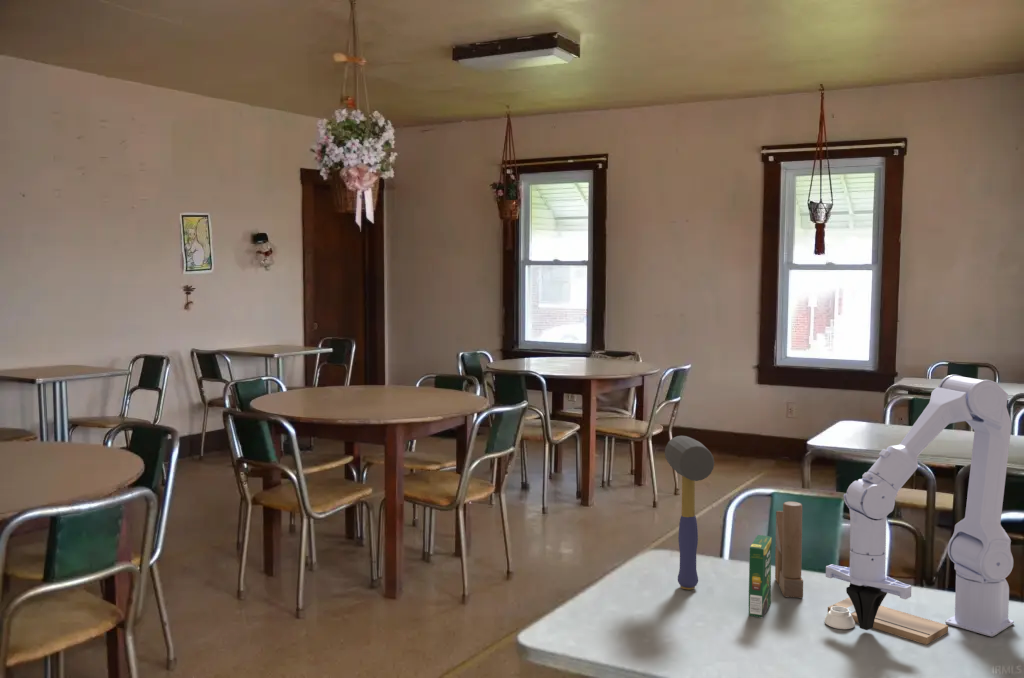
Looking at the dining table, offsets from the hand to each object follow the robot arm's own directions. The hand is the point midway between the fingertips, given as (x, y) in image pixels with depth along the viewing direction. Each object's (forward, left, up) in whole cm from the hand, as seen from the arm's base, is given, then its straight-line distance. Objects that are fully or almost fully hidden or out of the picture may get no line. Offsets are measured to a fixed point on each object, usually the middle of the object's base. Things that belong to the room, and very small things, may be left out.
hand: (866, 627), depth 150 cm
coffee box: (+5, -18, -1) cm, 19 cm away
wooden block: (-9, -21, -1) cm, 23 cm away
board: (-7, 0, -1) cm, 7 cm away
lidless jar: (0, -5, -1) cm, 5 cm away
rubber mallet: (+6, -34, -1) cm, 34 cm away
